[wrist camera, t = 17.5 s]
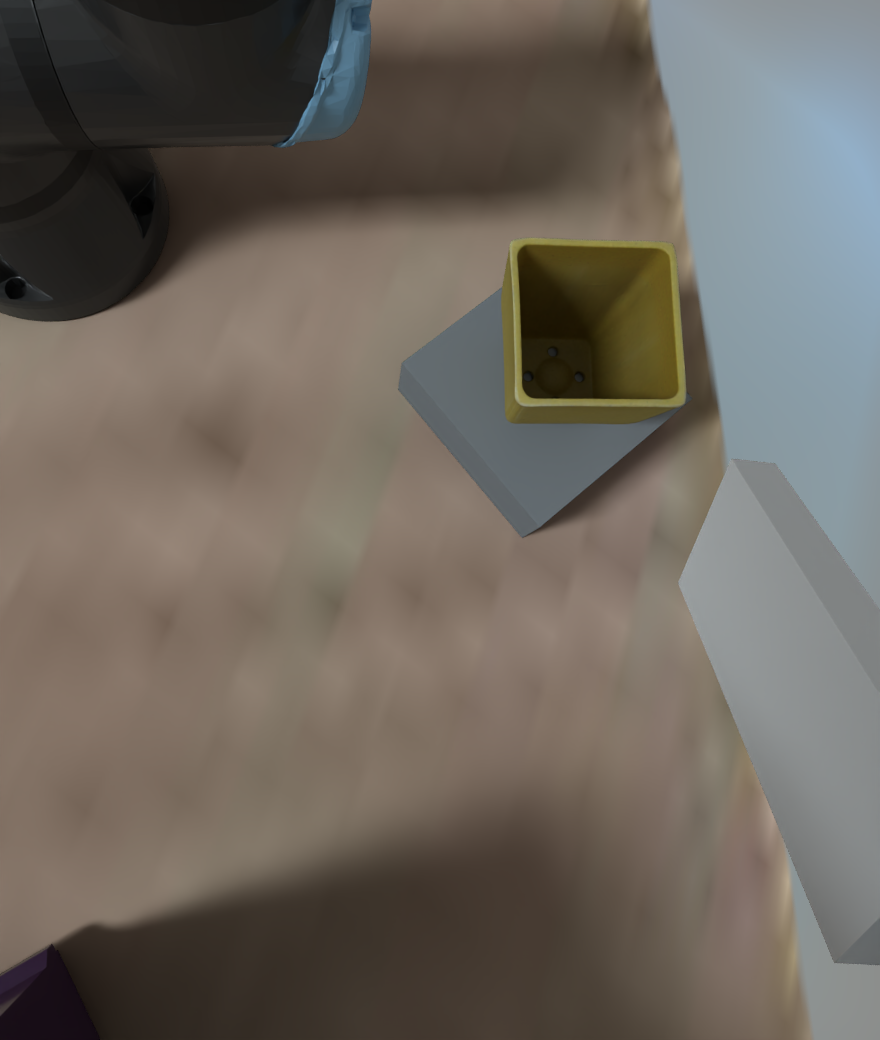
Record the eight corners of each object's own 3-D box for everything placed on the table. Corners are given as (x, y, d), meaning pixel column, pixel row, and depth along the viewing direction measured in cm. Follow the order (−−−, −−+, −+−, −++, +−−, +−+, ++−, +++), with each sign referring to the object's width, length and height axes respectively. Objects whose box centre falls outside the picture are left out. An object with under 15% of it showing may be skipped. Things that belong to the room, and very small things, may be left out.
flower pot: (626, 450, 45) (689, 406, 36) (486, 450, 44) (516, 405, 36) (617, 314, 47) (676, 240, 38) (481, 312, 46) (509, 235, 37)
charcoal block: (522, 537, 49) (539, 527, 44) (398, 389, 50) (401, 363, 45) (661, 420, 51) (692, 398, 46) (540, 280, 52) (559, 243, 47)
